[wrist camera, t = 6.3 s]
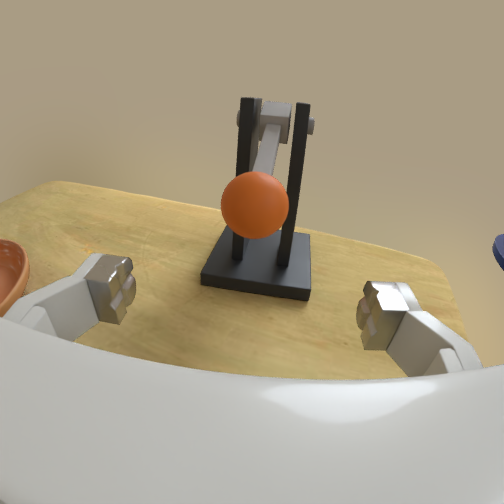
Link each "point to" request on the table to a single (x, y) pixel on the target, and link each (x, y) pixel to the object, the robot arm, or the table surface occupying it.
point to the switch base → (279, 243)
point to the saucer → (12, 273)
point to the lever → (260, 181)
